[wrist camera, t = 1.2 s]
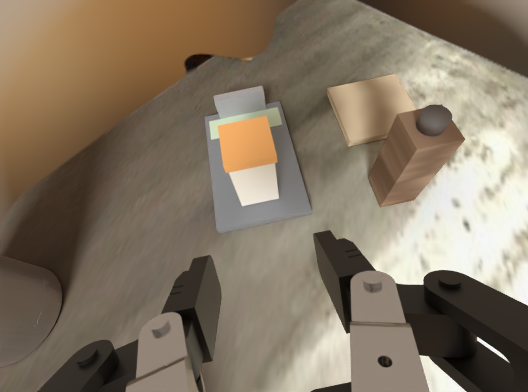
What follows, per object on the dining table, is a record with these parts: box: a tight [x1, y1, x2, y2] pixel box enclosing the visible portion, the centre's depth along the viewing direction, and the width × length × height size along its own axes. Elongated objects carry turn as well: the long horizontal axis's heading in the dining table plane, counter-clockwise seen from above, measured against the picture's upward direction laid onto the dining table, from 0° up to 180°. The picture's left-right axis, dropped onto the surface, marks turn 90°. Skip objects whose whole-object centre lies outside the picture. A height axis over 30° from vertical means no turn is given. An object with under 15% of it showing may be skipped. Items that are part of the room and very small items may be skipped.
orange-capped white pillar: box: [218, 115, 279, 206], centre depth 27 cm, size 4×4×8 cm
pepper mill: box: [368, 105, 465, 207], centre depth 25 cm, size 4×4×11 cm
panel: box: [205, 86, 312, 233], centre depth 32 cm, size 10×16×4 cm, turn 11°
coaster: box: [327, 74, 417, 147], centre depth 35 cm, size 9×9×1 cm
